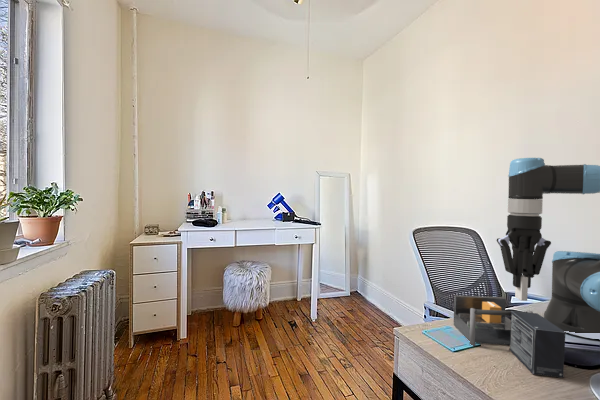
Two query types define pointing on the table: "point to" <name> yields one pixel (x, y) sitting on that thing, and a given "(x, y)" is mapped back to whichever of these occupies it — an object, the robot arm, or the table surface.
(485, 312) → the gray open frame
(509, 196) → the robot arm
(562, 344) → the small box
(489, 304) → the orange cardboard carton
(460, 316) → the dark gray open box
